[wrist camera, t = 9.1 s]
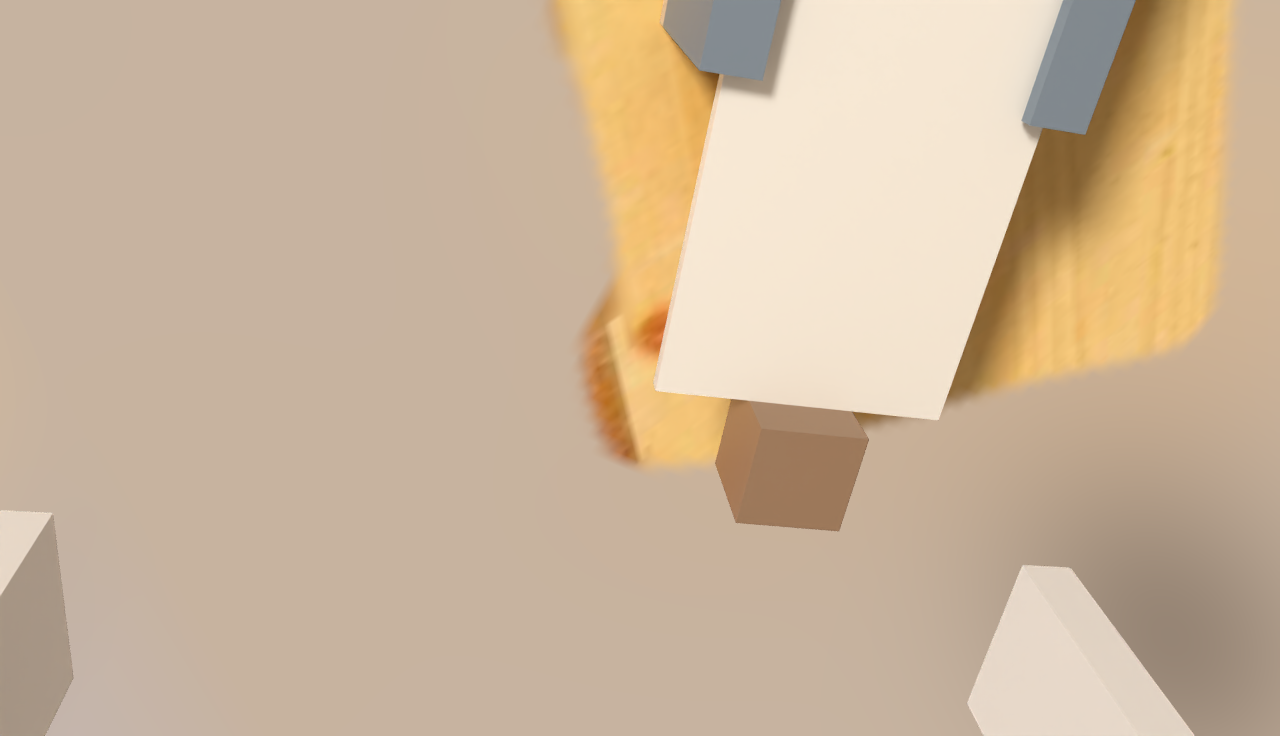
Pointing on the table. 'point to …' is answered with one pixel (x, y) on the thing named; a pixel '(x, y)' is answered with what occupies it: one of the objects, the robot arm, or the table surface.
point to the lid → (848, 234)
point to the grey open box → (1061, 96)
